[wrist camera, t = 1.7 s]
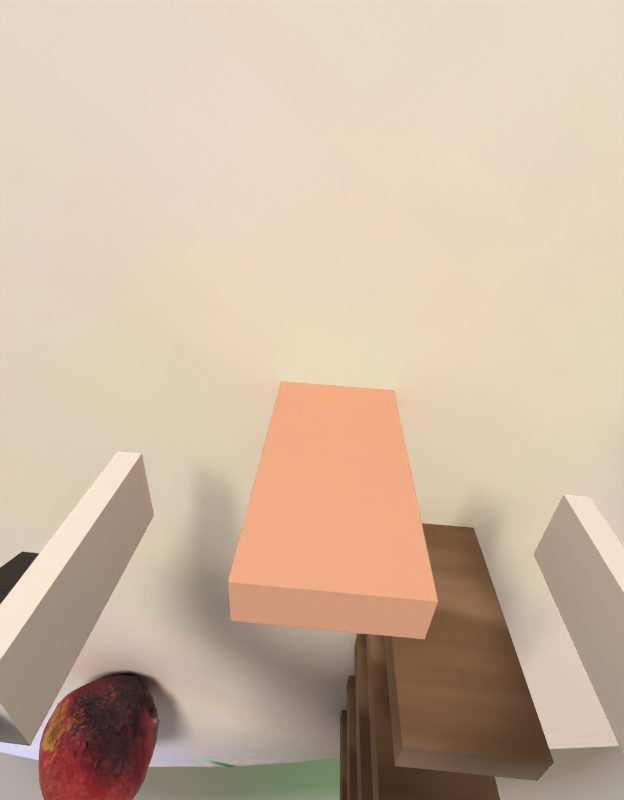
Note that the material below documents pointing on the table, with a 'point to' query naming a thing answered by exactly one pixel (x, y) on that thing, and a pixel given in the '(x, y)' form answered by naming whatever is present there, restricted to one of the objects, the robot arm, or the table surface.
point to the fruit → (99, 741)
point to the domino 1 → (334, 520)
